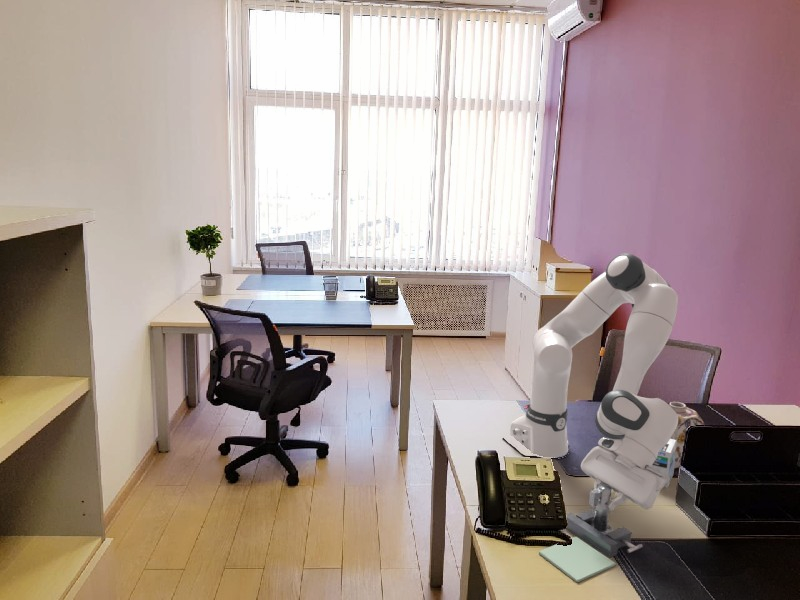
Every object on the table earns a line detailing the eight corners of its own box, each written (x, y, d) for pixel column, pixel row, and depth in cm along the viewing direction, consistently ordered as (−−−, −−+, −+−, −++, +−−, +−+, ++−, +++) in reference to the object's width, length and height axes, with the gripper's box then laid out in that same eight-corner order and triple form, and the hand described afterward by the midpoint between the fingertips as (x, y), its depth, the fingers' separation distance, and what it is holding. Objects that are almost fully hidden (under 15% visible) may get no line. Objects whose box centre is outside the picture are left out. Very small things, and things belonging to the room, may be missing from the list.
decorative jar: (701, 463, 189) (707, 408, 185) (672, 470, 185) (678, 413, 181) (670, 447, 200) (676, 395, 196) (642, 453, 195) (648, 400, 192)
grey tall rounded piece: (579, 530, 152) (583, 486, 149) (599, 523, 155) (603, 480, 153) (596, 543, 147) (601, 497, 145) (616, 535, 151) (621, 490, 148)
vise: (563, 526, 155) (563, 515, 155) (588, 516, 160) (588, 506, 159) (618, 563, 141) (619, 551, 140) (644, 551, 145) (645, 540, 144)
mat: (538, 553, 144) (538, 551, 144) (575, 538, 150) (575, 536, 150) (577, 582, 134) (577, 580, 134) (615, 565, 140) (615, 563, 140)
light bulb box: (668, 488, 174) (671, 453, 172) (642, 482, 178) (646, 447, 175) (674, 473, 183) (677, 439, 181) (650, 467, 186) (653, 434, 184)
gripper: (674, 483, 145) (641, 531, 142) (606, 447, 162) (575, 490, 160) (664, 470, 142) (630, 519, 139) (595, 435, 159) (564, 478, 156)
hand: (601, 503), depth 150 cm, fingers closed on grey tall rounded piece, 3 cm apart
